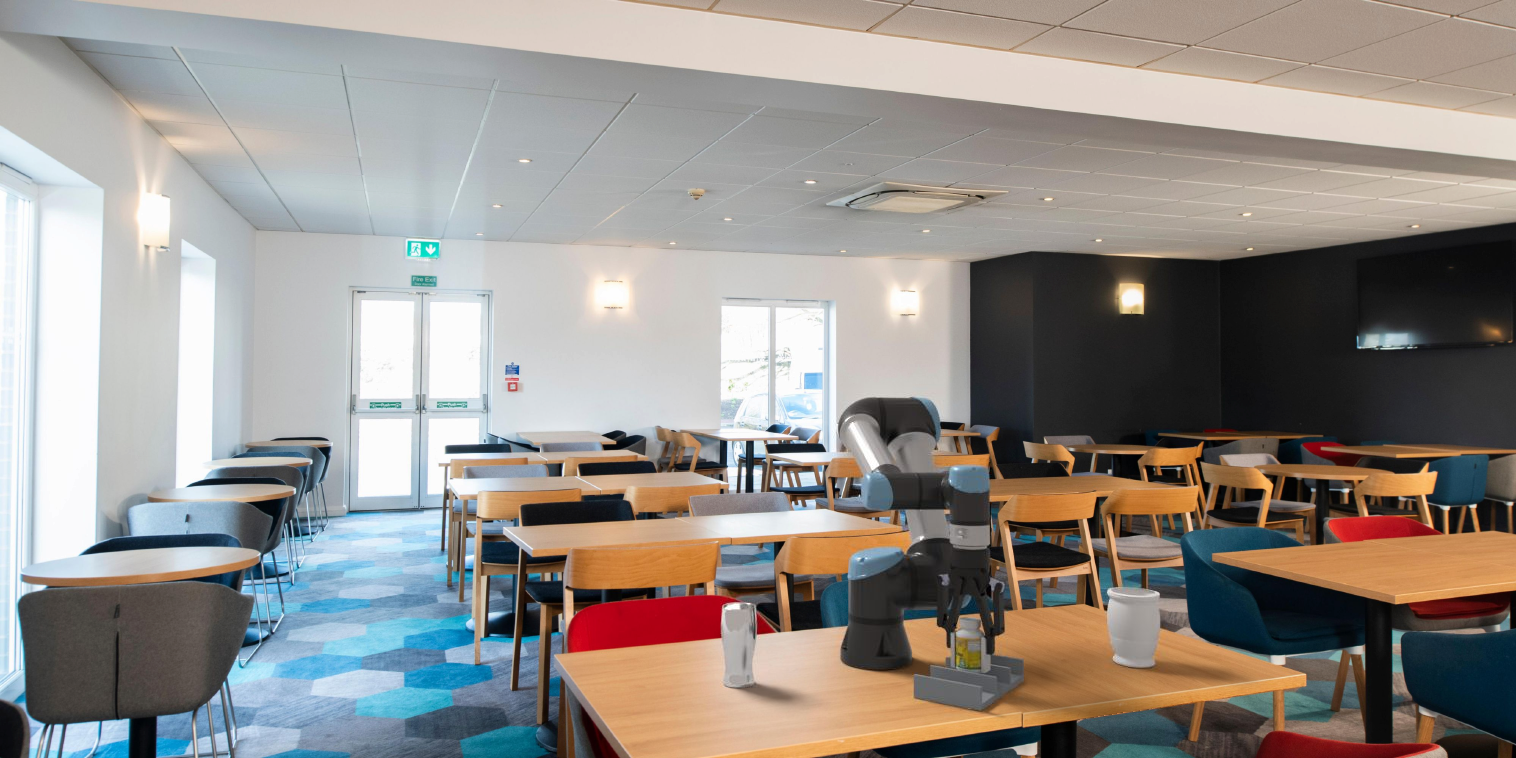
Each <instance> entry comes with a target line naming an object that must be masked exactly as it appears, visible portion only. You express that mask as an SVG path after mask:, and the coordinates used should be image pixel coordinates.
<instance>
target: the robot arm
mask: <svg viewBox="0 0 1516 758" xmlns="http://www.w3.org/2000/svg"><path fill="white" fill-rule="evenodd" d="M941 431H942V427H941V417H940V413H939V410H938V408H937V407H936V404H935V403H934V402H933V401H932V400H931V399H929V398H926V397H917V396H910V397H884V396H883V397H880V396H879V397H876V396H872V397H865V398H861V399H858V400H856V401H854V402H853V403H851V404H850V405H848V406H847V407H846V409H845V410H844V411H843V412H842V414H841V415H840V418H839V420H838V423H837V433H838V438H839V440H840V442H841V444H842V445H843V446H844V448H845V449H847V450H848V451H851V454H852V456H853V458H854V461H855V462H856V464H857V466H858V467H859V470H860V472H861V474H862V476H863V477H862V480H861V483H860V484H861V485H860V486H861V487H860V492H861V494H860V495H861V500H862V504H863V506H864V508H865V509H867V510H868V511H869V510H870V511H879V512H887V511H905V516H906V521H907V527H908V533H909V538H910V542H911V544H910V545H909V546H908V547H907V548H906V552H904V549H903V548H900V547H897V546H888V547H886V546H880V547H873V548H872V547H871V548H866V549H862V550H860V551H857V552H855V553H853V554H852V555H851V556H850V558H849V560H848V561H849V562H848V569H847V579H848V624H847V627H846V630H845V633H844V636H843V639H842V642H841V646H840V652H839V653H840V657H839V658H840V661H841V662H842V663H844V664H845V665H847V666H851V667H855V668H859V669H866V670H882V671H883V670H896V669H901V668H906V667H908V666H910V665H911V664H912V662H913V650H912V646H911V643H910V639H909V637H908V634H907V632H906V628H905V624H904V619H905V618H904V613H905V611H910V610H911V611H913V610H914V611H918V610H919V611H921V610H925V611H926V610H928V611H929V610H936V626H937V627H938V628H942V629H943V630H944V631H945V632H946V635H945V636H946V637H945V639H946V641H945V643H946V644H945V645H946V648H947V649H950V657H951V667H953V668H955V667H956V632H957V630H958V623H959V619H960V616H961V615H960V614H961V611H962V608H965V607H966V606H967V605H968V604H969V603H970V601H971V599H972V597H973V599H974V602H975V603H976V606H977V610H978V614H979V619H980V620H981V627H982V628H983V629H982V631H983V632H984V635H985V636H983V637H981V673H986V672H988V671H989V670H991V668H990V655H992V654H995V652H996V637H999V636H1001V635H1003V634H1005V632H1006V626H1005V625H1006V624H1005V623H1006V622H1005V621H1006V620H1005V597H1004V594H1005V590H1006V588H1007V587H1006V586H1007V583H1006V581H1004V580H1002V581H1000V580H997V579H995V578H993V575H992V573H991V570H990V569H991V549H990V547H988V546H990V544H991V536H990V535H991V532H990V531H991V530H990V529H991V528H990V526H991V525H990V522H991V521H990V518H991V517H990V515H991V514H990V513H991V512H990V505H991V504H990V500H991V499H990V496H991V495H990V493H991V492H990V491H991V490H990V489H991V482H990V471H989V469H988V467H986V466H984V465H977V464H957V465H952V466H951V467H950V469H949V470H948V471H947V470H943V471H939V472H937V471H936V467H935V462H934V458H933V453H932V452H934V451H935V449H936V447H937V443H939V441H940V438H941V434H942V432H941ZM945 510H947V511H948V510H949V527H948V522H947V518H946V513H945ZM905 553H906V554H905ZM989 586H991V587H990V588H991V591H992V592H993V593H992V611H993V613H991V609H990V605H989V602H988V594H987V589H988V587H989ZM992 614H993V616H992Z"/></svg>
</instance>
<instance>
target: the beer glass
mask: <svg viewBox="0 0 1516 758" xmlns="http://www.w3.org/2000/svg"><path fill="white" fill-rule="evenodd" d="M721 607H722V608H721V622H720V634H721V643H722V651H723V654H724V660H725V661H724V663H725V671H724V675H723V681H722V682H723V685H724V686H725V687H728V688H732V689H733V688H734V689H745V688H750V687H752V686H755V677H754V672H753V671H754V670H753V659H754V654H755V648H756V643H757V635H758V634H757V632H758V631H757V630H758V621H757V620H758V619H757V608H756V607H757V605H756V604H754V603H751V602H742V601H741V602H738V601H737V602H736V601H735V602H727V603H725V604H723V605H722V606H721Z"/></svg>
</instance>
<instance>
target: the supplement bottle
mask: <svg viewBox="0 0 1516 758" xmlns="http://www.w3.org/2000/svg"><path fill="white" fill-rule="evenodd" d="M958 624H959V627H960V628H957V629H956V630H957V632H956V668H957V669H958V670H962V671H967V672H973V673H981V637H983V636H985V633H984V630H983V629H980V628H981V627H982V622H981V618H977V617H972V616H970V617H969V616H968V617H967V616H963V617H959V619H958Z"/></svg>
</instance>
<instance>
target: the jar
mask: <svg viewBox="0 0 1516 758" xmlns="http://www.w3.org/2000/svg"><path fill="white" fill-rule="evenodd" d="M1106 591H1107V592H1106V594H1107V595H1108V597H1109V600H1108V605H1107V610H1106V611H1107V612H1106V619H1107V620H1106V622H1107V629H1108V633H1109V635H1108V636H1109V640H1110V641H1109V642H1110V644H1111V648H1112V650H1113V652H1114V655H1113V657H1112V661H1113V662H1114V663H1115V664H1118V665H1120V666H1124V667H1130V668H1137V669H1138V668H1139V669H1144V668H1145V669H1147V668H1153V667H1154V666H1156V660H1155V659H1154V657H1153V656H1154V655H1155V654H1156V652H1157V648H1158V644H1159V637H1160V631H1161V613H1160V608H1159V604H1158V601H1159V600H1160V598H1161V596H1160V595H1161V594H1160V592H1158V591H1155V590H1151V589H1148V588H1142V587H1134V586H1133V587H1132V586H1129V587H1127V586H1120V587H1109V588H1108V589H1107V590H1106Z"/></svg>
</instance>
